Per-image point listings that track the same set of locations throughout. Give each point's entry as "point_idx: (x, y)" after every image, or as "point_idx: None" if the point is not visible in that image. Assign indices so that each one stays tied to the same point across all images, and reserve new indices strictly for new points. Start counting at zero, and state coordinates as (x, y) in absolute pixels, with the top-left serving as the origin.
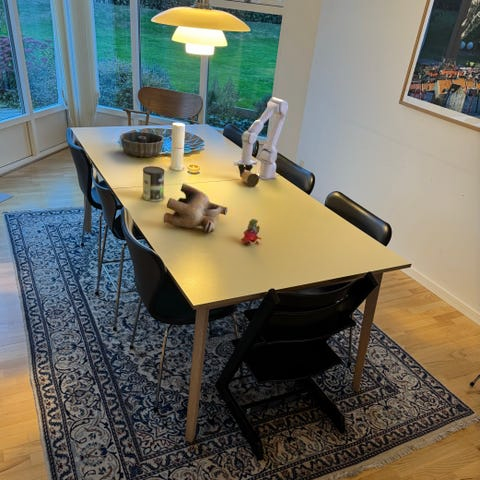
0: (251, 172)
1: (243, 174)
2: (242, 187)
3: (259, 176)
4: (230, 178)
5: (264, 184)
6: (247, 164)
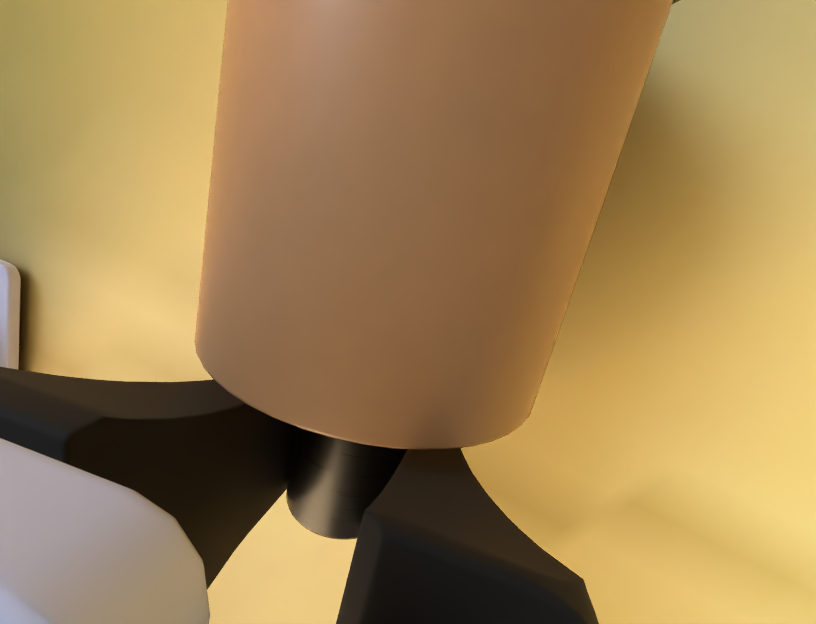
0: (323, 66)
1: (544, 338)
2: (756, 72)
3: (10, 364)
4: None
5: (135, 33)
6: (171, 604)
